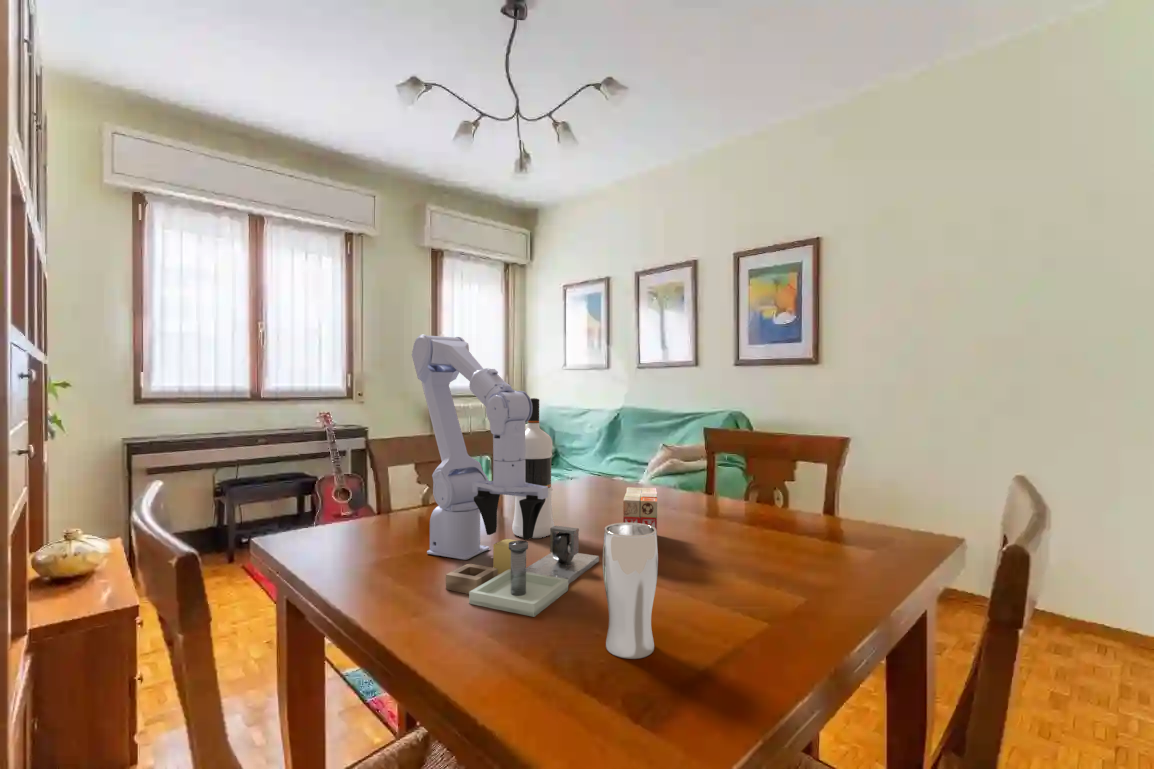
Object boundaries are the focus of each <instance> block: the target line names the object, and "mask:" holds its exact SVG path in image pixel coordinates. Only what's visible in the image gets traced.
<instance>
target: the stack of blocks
mask: <svg viewBox="0 0 1154 769" xmlns="http://www.w3.org/2000/svg"><path fill="white" fill-rule="evenodd" d="M625 491H626V493H625V494H624V496H623V501H622V502H623V504H622V505H623V506H622V507H623V510H622V511H623V512H622V513H623V515H622V516H623V519H622V520H623V522H622V523H626V522H630V523H642V524H647V525H650V526H653V527H654V528H656V536H657V537H658V491H657V488H656V487H633V486H632V487H631V486H628V487H626V490H625Z"/></svg>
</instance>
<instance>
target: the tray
mask: <svg viewBox="0 0 1154 769" xmlns="http://www.w3.org/2000/svg"><path fill="white" fill-rule="evenodd" d="M568 591H569V584H568V579H564V578H558V577H552V576H546V575H540V574H534V573H528V572H526V594H525V595H522V596H513V595H511V570H510V569H508V570H506V571H505V572H503V573H501V574H498V576H496V577H494V578H492V579H491V580H489V581H487V582H485V583H484V584H482V585H480V586H478V587H477V588H475V589H473V590H471V591H470V592H469V594H468V595H469V596H468V597H469V599H468V604H470V605H474V606H479V607H484V608H488V609H493V610H497V611H504V612H509V613H513V614H518V615H523V616H527V617H528V616H529V617H532V618H533V617H534V618H535V617H536V616H538V615H539V614H540V613H541V612H542V611H544V610H545V609H546V608H548V607H549V606H551V604H553V603H554V602H555V601H557V600H558V599H559V598H560V597H562V596H563V595H564V594H565V593H567V592H568Z"/></svg>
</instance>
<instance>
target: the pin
mask: <svg viewBox="0 0 1154 769" xmlns="http://www.w3.org/2000/svg"><path fill="white" fill-rule="evenodd" d="M516 540H517V539H516ZM528 549H529V542H528V540H521V539H520V540H517V541H511V542H509V550H511V595H513V596H522V595H525V594H526V568H527V550H528Z"/></svg>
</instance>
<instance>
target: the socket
mask: <svg viewBox="0 0 1154 769" xmlns="http://www.w3.org/2000/svg"><path fill="white" fill-rule="evenodd" d="M498 575H499V574H498V568H493V566H492V567H490V566H485V565H480V564H472V563H466V564H464V565H463V566H460V567H458V568H456V569H453V570H452V571H449V572H447V573H446V574H445V590H447V591H452V592H453V591H454V592H458V593H463V594H467V595H469V592H470V591H471V590H473V589H475V588H477V587H478V586H480V585H482V584H484V583H485V582H487V581H489V580H491V579H492V578H494V577H496V576H498Z"/></svg>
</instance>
